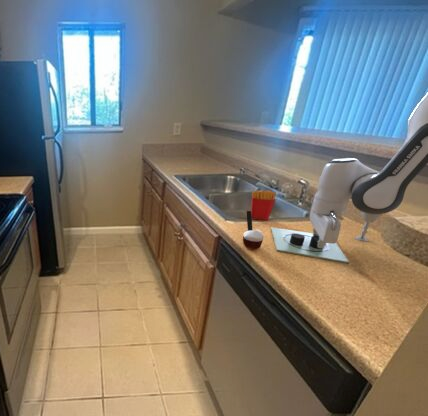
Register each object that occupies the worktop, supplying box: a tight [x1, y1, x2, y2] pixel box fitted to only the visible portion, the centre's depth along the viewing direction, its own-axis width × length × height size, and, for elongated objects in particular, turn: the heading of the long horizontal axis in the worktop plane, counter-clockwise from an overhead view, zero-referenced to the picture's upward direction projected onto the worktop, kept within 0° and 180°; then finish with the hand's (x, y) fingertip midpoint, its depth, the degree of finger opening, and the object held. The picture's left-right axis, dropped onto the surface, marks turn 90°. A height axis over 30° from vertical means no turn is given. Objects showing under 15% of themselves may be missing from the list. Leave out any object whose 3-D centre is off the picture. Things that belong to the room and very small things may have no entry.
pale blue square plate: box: [270, 226, 350, 264], centre depth 100 cm, size 20×20×1 cm
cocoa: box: [242, 210, 265, 250], centre depth 97 cm, size 10×6×12 cm, turn 160°
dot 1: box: [290, 233, 305, 246], centre depth 99 cm, size 4×4×3 cm
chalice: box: [354, 211, 383, 242], centre depth 96 cm, size 7×7×18 cm
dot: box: [309, 236, 323, 249], centre depth 97 cm, size 4×4×3 cm
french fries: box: [250, 189, 277, 221], centre depth 120 cm, size 9×4×13 cm, turn 72°
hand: (317, 243), depth 97 cm, fingers open, 5 cm apart
